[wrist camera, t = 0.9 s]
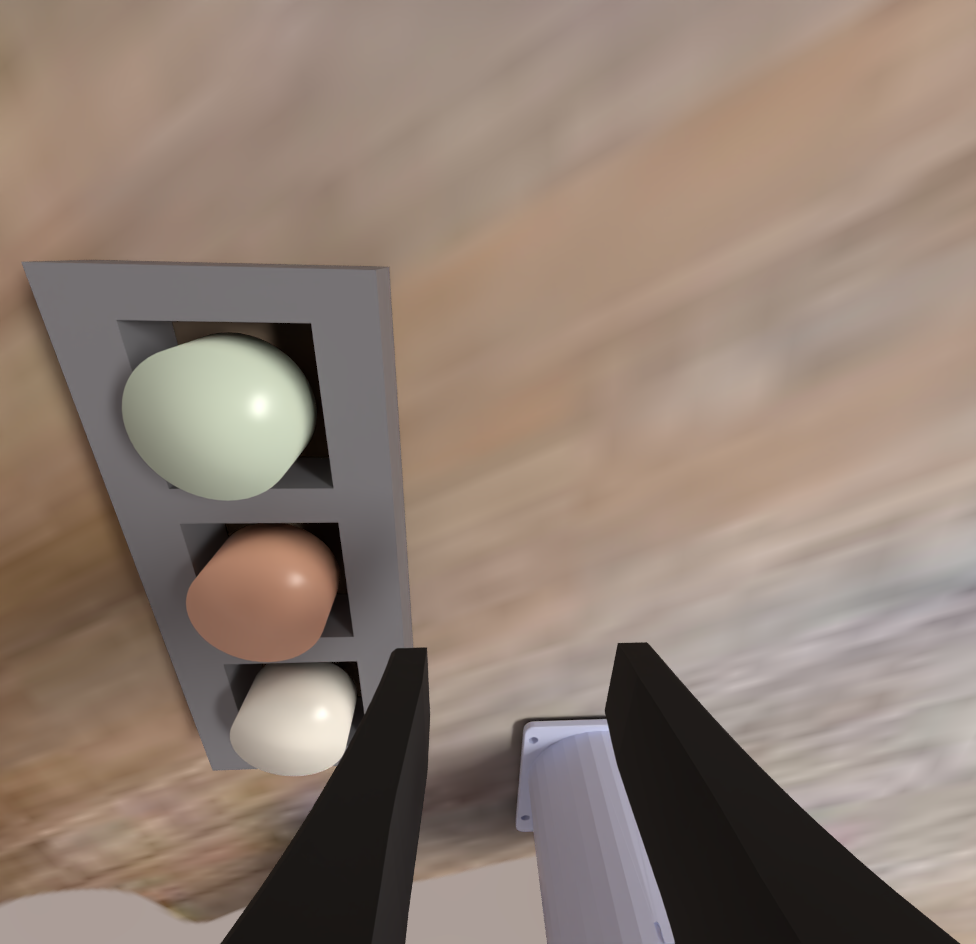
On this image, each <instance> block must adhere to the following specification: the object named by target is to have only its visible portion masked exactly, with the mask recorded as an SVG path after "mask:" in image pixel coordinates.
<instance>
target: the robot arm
mask: <svg viewBox="0 0 976 944" xmlns="http://www.w3.org/2000/svg"><path fill="white" fill-rule="evenodd" d="M605 714H606V719H591V720H560V721H532V722H529V723H527V724H526V725H525V726H524V728H523V740H522V751H521V763H520V775H519V786H518V798H517V810H516V829H517V830H519V831H521V832H531V831H533V833H534V841H535V849H536V857H537V865H538V873H539V881H540V890H541V896H542V897H541V898H542V906H543V913H544V922H545V930H546V938H547V944H960V943H959V942H957V941H956V940H955V939H954V938H952V937H951V936H950V935H949V934H947V933H946V932H945V931H944V930H943V929H941V928H940V927H939V926H938V925H936V924H935V923H934V922H933V921H931V920H930V919H929V918H928V917H926V916H925V915H924V914H923V913H922V912H920V911H919V910H918V909H917V908H915V907H914V906H913V905H912V904H910V903H909V902H908V901H907V900H905V899H904V898H903V897H902V896H901V895H899V894H898V893H897V892H896V891H894V890H893V889H892V888H891V887H890V886H889V885H887V884H886V883H885V882H884V881H883V880H881V879H880V878H879V877H878V876H877V875H876V874H874V873H873V872H872V871H871V870H870V869H869V868H867V867H866V866H865V865H864V864H863V863H862V862H861V861H859V860H858V859H857V858H856V857H855V856H854V855H853V854H852V853H850V852H849V851H848V850H847V849H846V848H845V847H844V846H843V845H842V844H840V843H839V842H838V841H837V840H836V839H835V838H834V837H833V836H832V835H830V834H829V833H828V832H827V831H826V830H825V829H824V828H823V827H822V826H820V825H819V824H818V823H817V822H816V821H815V820H814V819H813V818H812V817H811V816H810V815H809V814H808V813H807V812H806V811H804V810H803V809H802V808H801V807H800V806H799V805H798V804H797V803H796V802H795V801H794V800H793V799H792V798H791V797H790V796H789V795H788V794H787V793H786V792H785V791H784V790H783V789H782V788H781V787H780V786H779V785H778V784H777V783H776V782H775V781H774V780H773V779H772V778H771V777H770V776H769V775H768V774H767V773H766V772H765V771H764V770H763V769H762V768H761V767H760V766H759V765H758V764H757V763H756V762H755V761H754V760H753V759H752V758H751V757H750V756H749V755H748V754H747V753H746V752H745V751H744V750H743V749H742V748H741V747H740V746H739V745H738V743H737V742H736V741H735V740H734V739H733V738H732V737H731V736H730V735H729V734H728V733H727V732H726V731H725V730H724V728H723V727H722V726H721V725H720V724H719V723H718V722H717V721H716V720H715V719H714V718H713V717H712V716H711V714H710V713H709V712H708V711H707V710H706V709H705V708H704V707H703V706H702V704H701V703H700V702H699V701H698V700H697V699H696V698H695V697H694V695H693V694H692V693H691V692H690V691H689V690H688V689H687V688H686V686H685V685H684V684H683V683H682V682H681V681H680V680H679V678H678V677H677V676H676V675H675V674H674V673H673V671H672V670H671V669H670V668H669V667H668V666H667V665H666V663H665V662H664V661H663V660H662V659H661V658H660V656H659V655H658V654H657V653H656V652H655V651H654V650H653V648H652V647H651V646H650V645H649V644H648V643H647V642H645V643H618V645H617V650H616V656H615V661H614V666H613V671H612V676H611V681H610V686H609V691H608V696H607V702H606V707H605ZM429 729H430V704H429V682H428V660H427V648H396V649H395V650H394V651H393V652H391V655H390V657H389V660H388V663H387V666H386V668H385V671H384V673H383V676H382V678H381V680H380V683H379V685H378V687H377V689H376V692H375V694H374V696H373V698H372V700H371V702H370V704H369V706H368V708H367V711H366V713H365V715H364V717H363V719H362V720H361V722H360V724H359V726H358V728H357V730H356V732H355V734H354V736H353V738H352V740H351V741H350V743H349V745H348V747H347V749H346V751H345V753H344V755H343V756H342V758H341V760H340V762H339V764H338V765H337V767H336V769H335V770H334V772H333V774H332V776H331V777H330V779H329V781H328V782H327V784H326V786H325V787H324V789H323V791H322V793H321V794H320V796H319V798H318V799H317V801H316V803H315V804H314V806H313V808H312V810H311V811H310V813H309V814H308V816H307V818H306V819H305V821H304V822H303V824H302V826H301V827H300V829H299V830H298V832H297V833H296V835H295V837H294V838H293V840H292V841H291V843H290V844H289V846H288V847H287V849H286V850H285V852H284V853H283V855H282V856H281V858H280V859H279V861H278V862H277V864H276V865H275V867H274V868H273V870H272V871H271V873H270V874H269V876H268V877H267V879H266V880H265V882H264V883H263V885H262V886H261V888H260V889H259V890H258V892H257V893H256V895H255V896H254V897H253V899H252V900H251V902H250V903H249V905H248V906H247V907H246V909H245V910H244V912H243V913H242V914H241V916H240V917H239V919H238V920H237V921H236V923H235V924H234V926H233V927H232V929H231V930H230V931H229V933H228V934H227V935H226V937H225V938H224V940H223V941H222V942H221V944H405V940H406V931H407V921H408V912H409V905H410V897H411V890H412V882H413V875H414V868H415V860H416V853H417V846H418V838H419V831H420V823H421V816H422V809H423V801H424V794H425V786H426V779H427V770H428V750H429Z"/></svg>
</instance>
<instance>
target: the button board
mask: <svg viewBox="0 0 976 944" xmlns="http://www.w3.org/2000/svg"><path fill="white" fill-rule="evenodd" d="M22 265H23V268H24V270H25V273H26V276H27V278H28V281H29V284H30V286H31V289H32V292H33V294H34V297H35V300H36V302H37V305H38V308H39V310H40V313H41V315H42V318H43V321H44V323H45V326H46V329H47V331H48V334H49V337H50V339H51V342H52V345H53V347H54V350H55V353H56V355H57V358H58V361H59V363H60V366H61V369H62V371H63V374H64V377H65V379H66V382H67V385H68V387H69V390H70V393H71V395H72V398H73V401H74V403H75V406H76V408H77V411H78V414H79V416H80V419H81V422H82V424H83V427H84V430H85V432H86V435H87V438H88V440H89V443H90V446H91V448H92V451H93V454H94V456H95V459H96V462H97V464H98V467H99V470H100V472H101V475H102V478H103V480H104V483H105V486H106V488H107V491H108V493H109V496H110V499H111V501H112V504H113V507H114V509H115V512H116V515H117V517H118V520H119V523H120V525H121V528H122V531H123V533H124V536H125V539H126V541H127V544H128V547H129V549H130V552H131V555H132V557H133V560H134V563H135V565H136V568H137V571H138V573H139V576H140V579H141V581H142V584H143V586H144V589H145V592H146V594H147V597H148V600H149V602H150V605H151V608H152V610H153V613H154V616H155V618H156V621H157V624H158V626H159V629H160V632H161V634H162V637H163V640H164V642H165V645H166V648H167V650H168V653H169V656H170V658H171V661H172V664H173V666H174V669H175V672H176V674H177V677H178V679H179V682H180V685H181V687H182V690H183V693H184V695H185V698H186V701H187V703H188V706H189V709H190V711H191V714H192V717H193V719H194V722H195V725H196V727H197V730H198V733H199V735H200V738H201V741H202V743H203V746H204V749H205V751H206V754H207V757H208V759H209V762H210V764H211V767H212V770H240V769H258V768H255V767H253V766H252V765H250V764H248V763H247V762H245V761H244V760H243V759H242V758H241V757H240V756H239V755H238V754H237V753H236V752H235V750H234V749H233V747H232V744H231V741H230V730H231V727H232V725H233V723H234V721H235V719H236V717H237V715H238V712H239V710H240V708H241V706H242V704H243V702H244V700H245V698H246V696H247V694H248V692H249V690H250V688H251V685H252V683H253V681H254V679H255V677H256V675H257V674H258V672H259V671H260V670H261V669H262V665H261V663H302V662H343V661H357V663H358V670H359V678H360V685H361V692H362V697H357V701H356V706H355V710H354V714H353V719H352V723H351V727H350V731H349V736H348V740H347V744H346V749H347V747H348V745H349V743H350V741H351V740H352V738H353V736H354V734H355V732H356V730H357V728H358V726H359V724H360V722H361V720H362V719H363V717H364V715H365V713H366V711H367V708H368V706H369V704H370V702H371V700H372V698H373V696H374V694H375V692H376V689H377V687H378V685H379V683H380V680H381V678H382V676H383V673H384V671H385V668H386V666H387V663H388V660H389V657H390V655H391V652H393V651H394V650H395V649H396V648H413V637H412V621H411V605H410V589H409V573H408V558H407V542H406V526H405V510H404V494H403V479H402V463H401V447H400V431H399V415H398V400H397V384H396V368H395V352H394V336H393V321H392V305H391V289H390V273H389V267H372V266H329V265H287V264H244V263H202V262H159V261H117V260H70V261H33V262H22ZM172 321H208V322H268V323H311V326H312V334H313V341H314V348H315V356H316V363H317V370H318V378H319V385H320V392H321V400H322V407H323V414H324V422H325V429H326V436H327V443H328V451H329V458H297V459H296V460H295V462H294V463H293V464H292V465H291V467H290V468H289V469H288V470H287V472H286V473H285V474H284V475H283V477H282V478H281V479H280V480H279V481H278V482H277V483H276V484H275V485H274V486H273V487H271V488H270V489H268V490H267V491H265V492H263V493H261V494H259V495H257V496H254V497H250V498H247V499H241V500H230V501H226V500H214V499H208V498H204V497H200V496H196V495H194V494H191V493H188V492H186V491H184V490H182V489H180V488H178V487H176V486H174V485H173V484H171V483H169V482H168V481H166V480H165V479H163V478H162V477H161V476H159V475H158V474H157V473H156V472H155V471H154V470H153V469H151V468H150V467H149V466H148V465H147V463H146V462H145V461H144V460H143V459H142V458H141V456H140V455H139V454H138V452H137V451H136V449H135V448H134V446H133V444H132V442H131V441H130V439H129V436H128V434H127V431H126V428H125V425H124V421H123V415H122V397H123V392H124V388H125V386H126V383H127V380H128V379H129V377H130V375H131V374H132V372H133V371H134V370H135V369H136V368H137V366H138V365H139V364H140V363H142V362H143V361H144V360H146V359H147V358H148V357H150V356H152V355H154V354H156V353H158V352H161V351H164V350H167V349H170V348H173V347H176V346H178V343H177V340H176V336H175V332H174V328H173V324H172ZM331 522H338V524H339V531H340V539H341V546H342V553H343V561H344V568H345V575H346V582H347V590H348V594H336V597H335V599H334V602H333V605H332V608H331V610H330V613H329V616H328V619H327V621H326V624H325V627H324V630H323V632H322V634H321V636H320V638H319V640H318V641H317V642H316V643H315V644H314V645H313V646H312V648H310V649H309V650H308V651H306V652H305V653H303V654H301V655H299V656H297V657H294V658H291V659H288V660H283V661H277V662H256V661H249V660H244V659H241V658H237V657H234V656H232V655H229V654H227V653H225V652H223V651H221V650H219V649H217V648H216V647H214V646H212V645H211V644H210V643H209V642H207V641H206V640H205V639H204V638H203V637H202V636H201V635H200V634H199V633H198V632H197V631H196V629H195V628H194V626H193V625H192V623H191V621H190V619H189V616H188V613H187V609H186V597H187V593H188V590H189V587H190V586H191V584H192V582H193V581H194V580H195V578H196V577H197V576H198V575H199V573H200V572H201V571H202V570H203V569H204V567H205V566H206V565H207V564H208V562H209V561H210V560H211V559H212V557H213V556H214V555H215V554H216V552H217V551H218V550H219V549H220V548H221V546H222V545H223V544H224V543H225V541H226V540H227V539H228V535H227V531H226V527H225V523H331ZM346 749H345V751H346ZM344 753H345V752H344ZM343 755H344V754H343ZM341 758H342V757H341ZM340 760H341V759H340ZM340 760H339V761H338V762H337V763H336V764H334V765H333V766H337V765H338V764H339V762H340Z"/></svg>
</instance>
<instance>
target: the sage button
mask: <svg viewBox="0 0 976 944" xmlns="http://www.w3.org/2000/svg"><path fill="white" fill-rule="evenodd" d="M122 415H123V421H124V425H125V428H126V431H127V434H128V436H129V439H130V441H131V442H132V444H133V446H134V448H135V449H136V451H137V452H138V454H139V455H140V456H141V458H142V459H143V460H144V461H145V462H146V463H147V465H148V466H149V467H150V468H151V469H153V470H154V471H155V472H156V473H157V474H158V475H159V476H161V477H162V478H163V479H165V480H166V481H168V482H169V483H171V484H173V485H174V486H176V487H178V488H180V489H182V490H184V491H186V492H188V493H191V494H194V495H196V496H200V497H204V498H208V499H214V500H226V501H230V500H241V499H247V498H250V497H254V496H257V495H259V494H261V493H263V492H265V491H267V490H268V489H270V488H271V487H273V486H274V485H275V484H276V483H277V482H278V481H279V480H280V479H281V478H282V477H283V475H284V474H285V473H286V472H287V470H288V469H289V468H290V467H291V465H292V464H293V463H294V462H295V460H296V459H297V458H298V456H299V455H300V454H301V453H302V451H303V450H304V449H305V448H306V446H307V445H308V443H309V442H310V440H311V438H312V436H313V433H314V431H315V426H316V421H317V408H316V401H315V397H314V394H313V391H312V388H311V386H310V384H309V382H308V380H307V378H306V377H305V375H304V374H303V372H302V371H301V369H300V368H299V367H298V366H297V365H296V363H295V362H294V361H293V360H292V359H291V358H290V357H289V356H287V355H286V354H285V353H284V352H282V351H281V350H280V349H278V348H277V347H275V346H273V345H272V344H270V343H268V342H266V341H264V340H262V339H259V338H256V337H253V336H250V335H245V334H241V333H217V334H212V335H208V336H205V337H202V338H199V339H196V340H193V341H190V342H187V343H184V344H181V345H178V346H176V347H173V348H170V349H167V350H164V351H161V352H158V353H156V354H154V355H152V356H150V357H148V358H147V359H146V360H144V361H143V362H142V363H140V364H139V365H138V366H137V368H136V369H135V370H134V371H133V372H132V374H131V375H130V377H129V379H128V380H127V383H126V386H125V388H124V392H123V397H122Z"/></svg>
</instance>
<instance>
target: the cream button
mask: <svg viewBox="0 0 976 944" xmlns="http://www.w3.org/2000/svg"><path fill="white" fill-rule="evenodd" d="M356 701H357V689H356V686H355V684H354V682H353V680H352V679H351V677H350V676H349V675H348V674H347V673H346V672H345V671H344V670H342V669H341V668H340V667H338V666H336V665H334V664H333V663H330V662H302V663H269V664H268V665H266V666H265V667H263V668H262V669H261V670H260V671H259V672H258V674H257V675H256V677H255V679H254V681H253V683H252V685H251V688H250V690H249V692H248V694H247V696H246V698H245V700H244V702H243V704H242V706H241V708H240V710H239V712H238V715H237V717H236V719H235V721H234V723H233V725H232V727H231V730H230V741H231V744H232V747H233V749H234V750H235V752H236V753H237V754H238V755H239V756H240V757H241V758H242V759H243V760H244V761H245V762H247V763H248V764H250V765H252V766H253V767H255V768H258V769H260V770H262V771H265V772H268V773H272V774H277V775H283V776H305V775H311V774H315V773H319V772H321V771H324V770H326V769H328V768H330V767H331V766H333V765H334V764H336V763H337V762H338V761H339V760H340V759H341V757H342V756H343V754H344V752H345V749H346V744H347V740H348V736H349V731H350V727H351V723H352V719H353V714H354V710H355V706H356Z"/></svg>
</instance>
